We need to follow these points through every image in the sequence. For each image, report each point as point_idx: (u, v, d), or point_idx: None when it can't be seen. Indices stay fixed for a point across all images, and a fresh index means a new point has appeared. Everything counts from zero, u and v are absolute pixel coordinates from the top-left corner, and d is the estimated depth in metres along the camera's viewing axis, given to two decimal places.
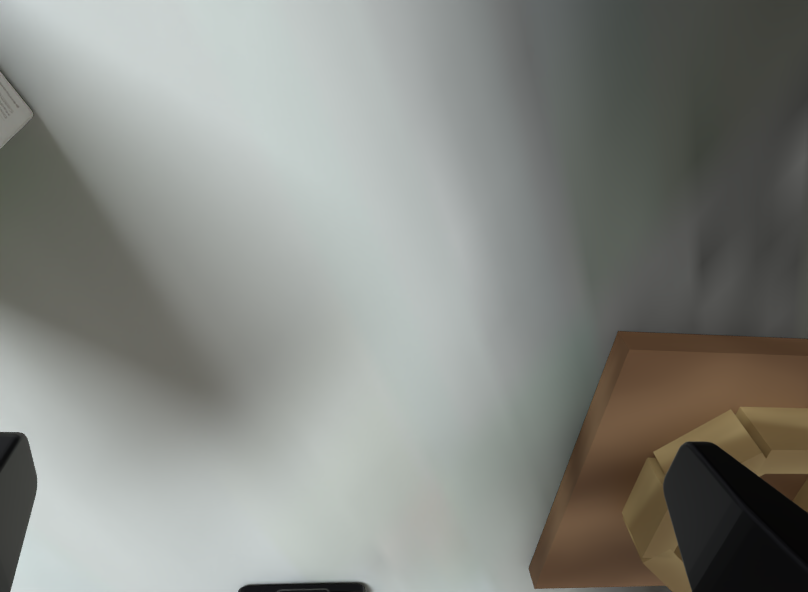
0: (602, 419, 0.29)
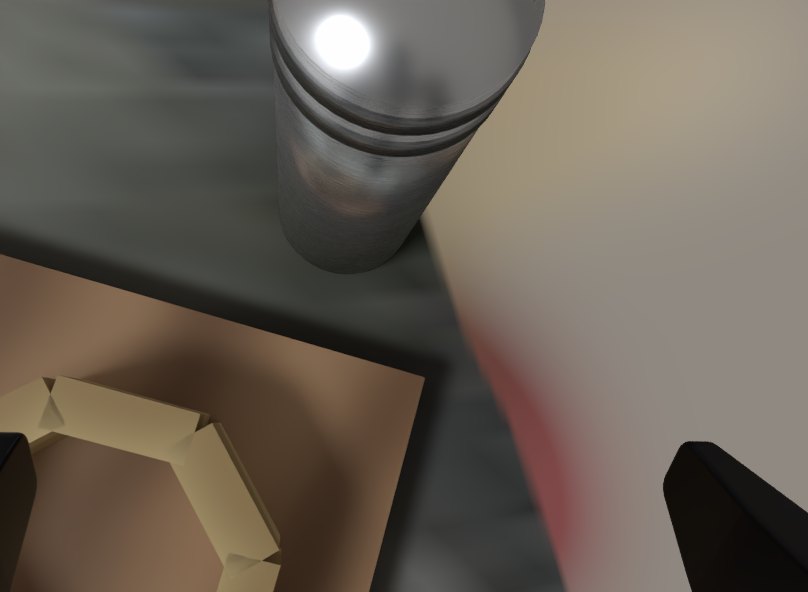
0: None
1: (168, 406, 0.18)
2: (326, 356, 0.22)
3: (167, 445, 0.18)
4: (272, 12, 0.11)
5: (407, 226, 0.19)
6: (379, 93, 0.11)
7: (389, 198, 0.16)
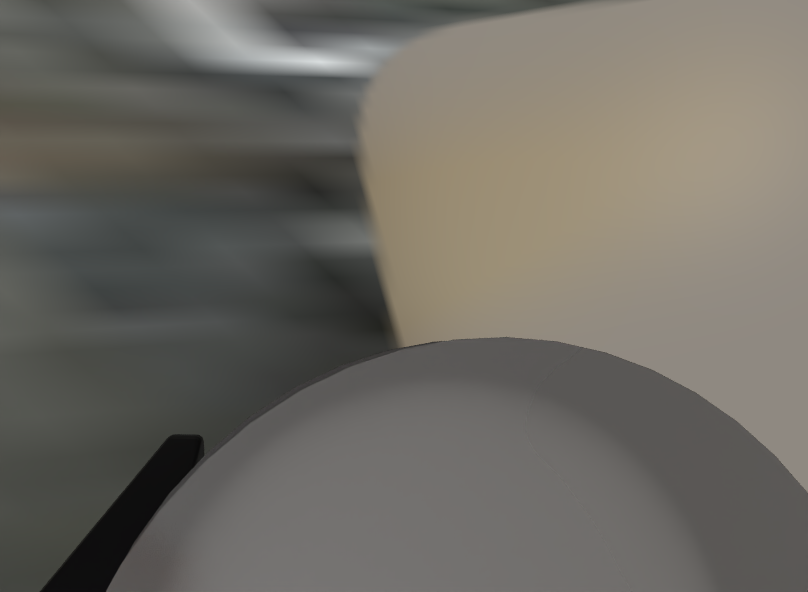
0: None
1: None
2: None
3: None
4: None
5: None
6: None
7: None
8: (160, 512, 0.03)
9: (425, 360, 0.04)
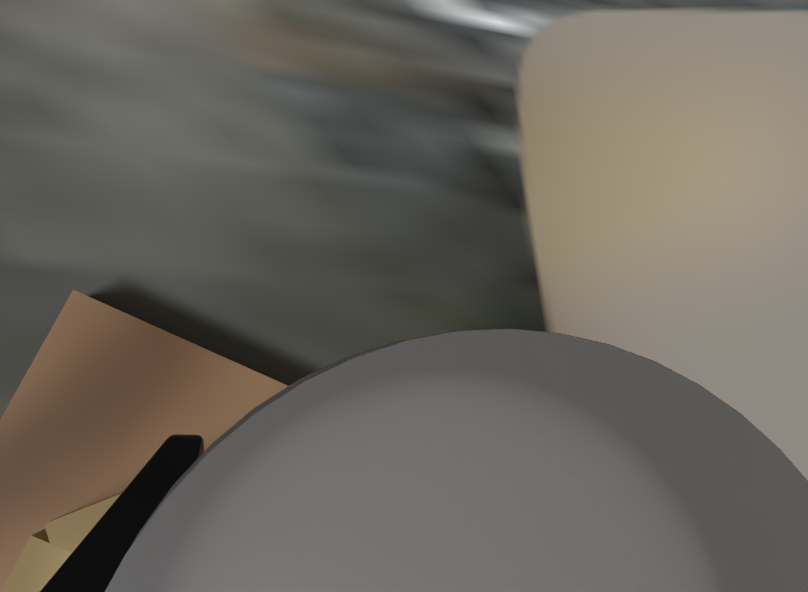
0: None
1: None
2: None
3: None
4: None
5: None
6: None
7: None
8: (164, 502, 0.03)
9: (429, 351, 0.04)
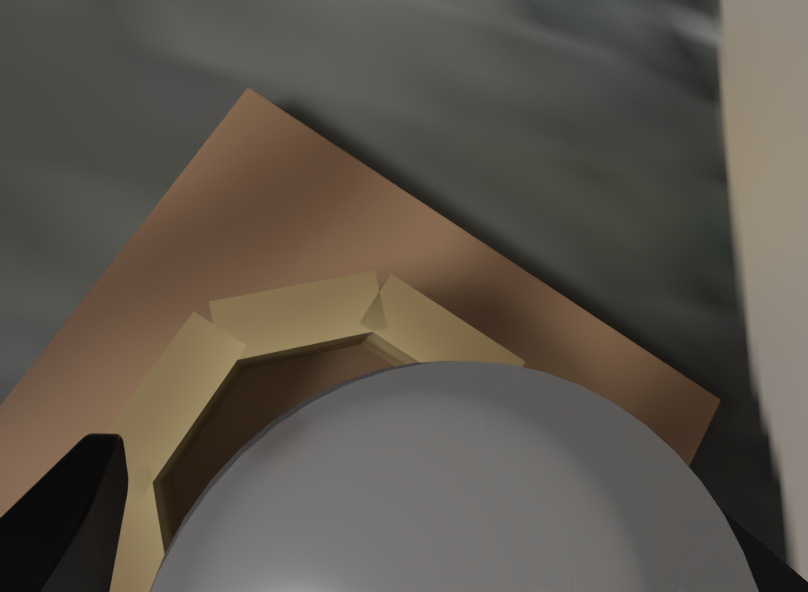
0: None
1: (494, 343, 0.16)
2: (624, 345, 0.19)
3: None
4: None
5: None
6: None
7: None
8: (209, 492, 0.05)
9: (406, 378, 0.05)
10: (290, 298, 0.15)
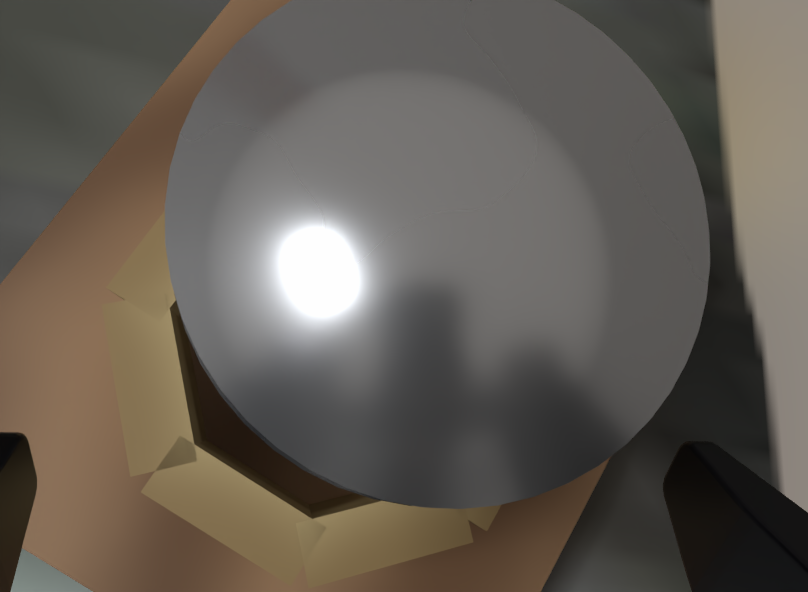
0: None
1: None
2: None
3: None
4: None
5: None
6: (393, 487, 0.05)
7: None
8: (235, 44, 0.06)
9: None
10: None
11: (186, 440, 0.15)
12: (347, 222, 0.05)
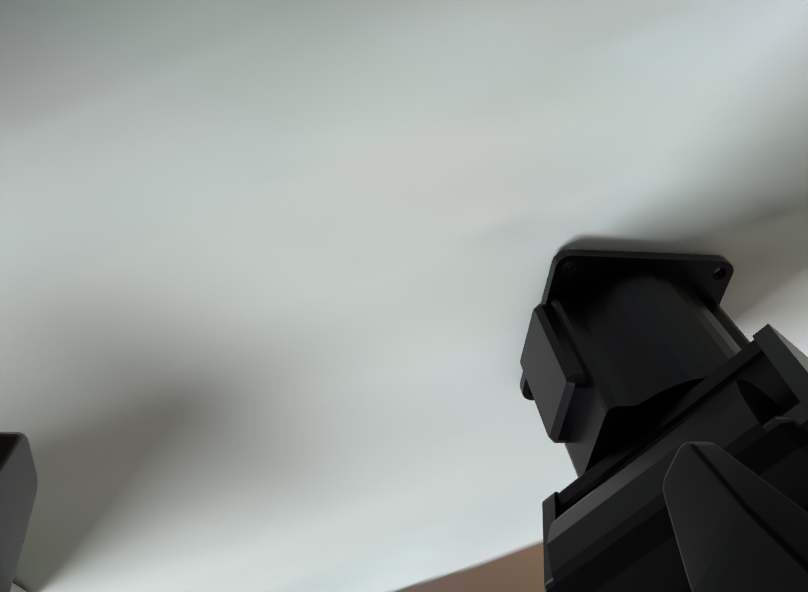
0: None
1: None
2: None
3: None
4: None
5: None
6: None
7: None
8: None
9: None
10: None
11: None
12: None
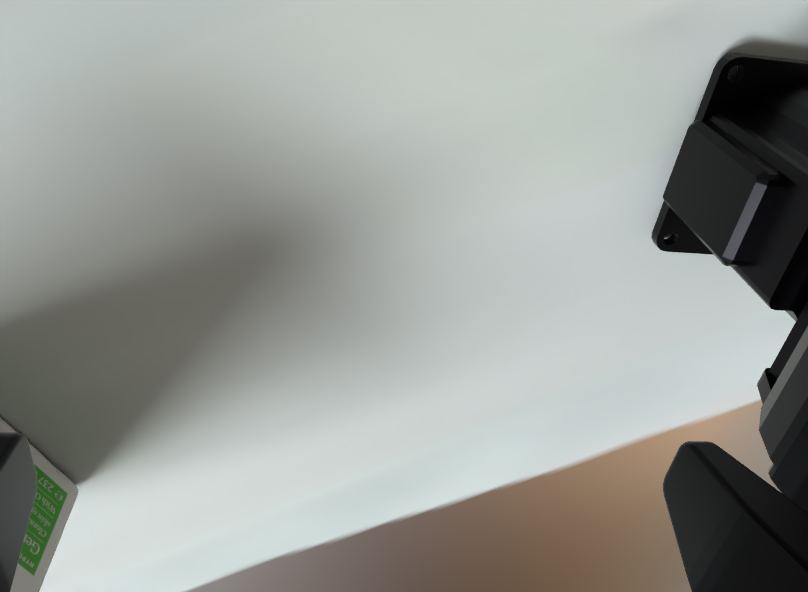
0: None
1: None
2: None
3: None
4: None
5: None
6: None
7: None
8: None
9: None
10: None
11: None
12: None
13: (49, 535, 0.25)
